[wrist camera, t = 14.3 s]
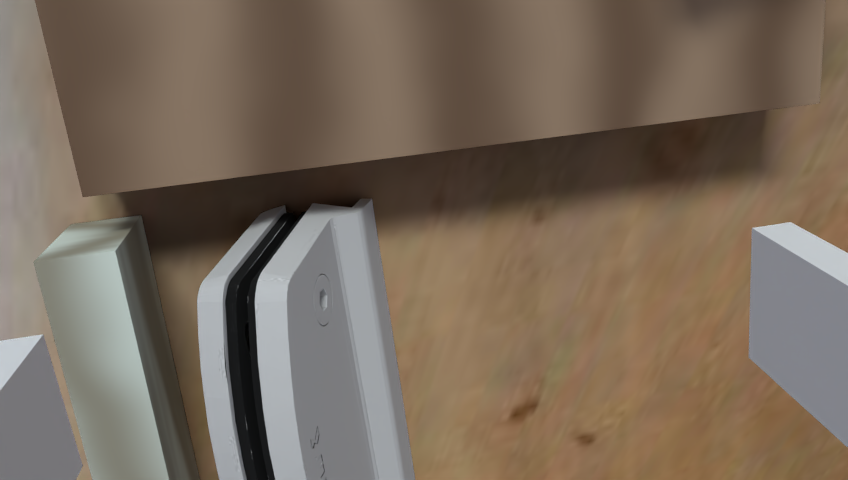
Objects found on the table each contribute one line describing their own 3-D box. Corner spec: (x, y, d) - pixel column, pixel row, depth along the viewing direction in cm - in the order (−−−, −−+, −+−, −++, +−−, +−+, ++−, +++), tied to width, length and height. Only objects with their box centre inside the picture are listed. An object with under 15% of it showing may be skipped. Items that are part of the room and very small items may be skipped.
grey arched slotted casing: (418, 499, 41) (365, 657, 32) (332, 497, 43) (257, 649, 33) (370, 189, 36) (291, 273, 27) (273, 196, 37) (165, 278, 28)
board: (774, -94, 35) (847, -106, 30) (755, 427, 43) (810, 482, 38) (10, -17, 32) (-42, -17, 27) (147, 529, 40) (125, 603, 35)
